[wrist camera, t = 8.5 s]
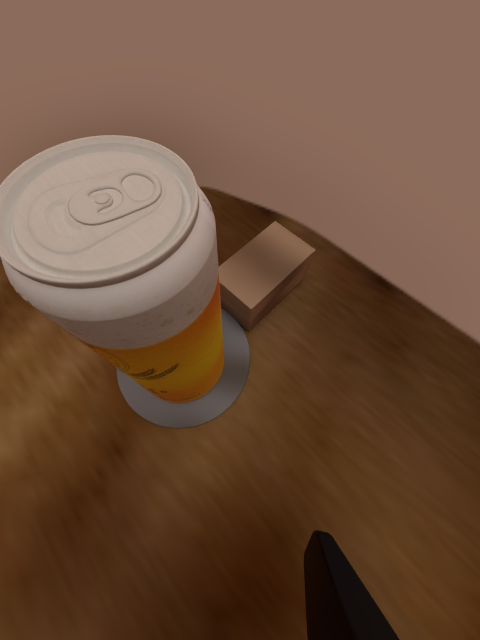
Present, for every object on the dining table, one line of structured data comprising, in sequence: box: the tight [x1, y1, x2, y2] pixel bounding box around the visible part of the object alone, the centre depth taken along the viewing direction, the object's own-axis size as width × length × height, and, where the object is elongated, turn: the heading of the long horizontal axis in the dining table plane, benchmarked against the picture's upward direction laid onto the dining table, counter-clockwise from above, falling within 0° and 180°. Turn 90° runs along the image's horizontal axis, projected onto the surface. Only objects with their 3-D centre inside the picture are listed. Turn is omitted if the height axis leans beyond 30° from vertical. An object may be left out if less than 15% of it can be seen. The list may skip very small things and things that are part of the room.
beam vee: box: [117, 221, 315, 428], centre depth 20 cm, size 15×20×4 cm
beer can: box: [0, 135, 224, 403], centre depth 14 cm, size 6×6×15 cm
